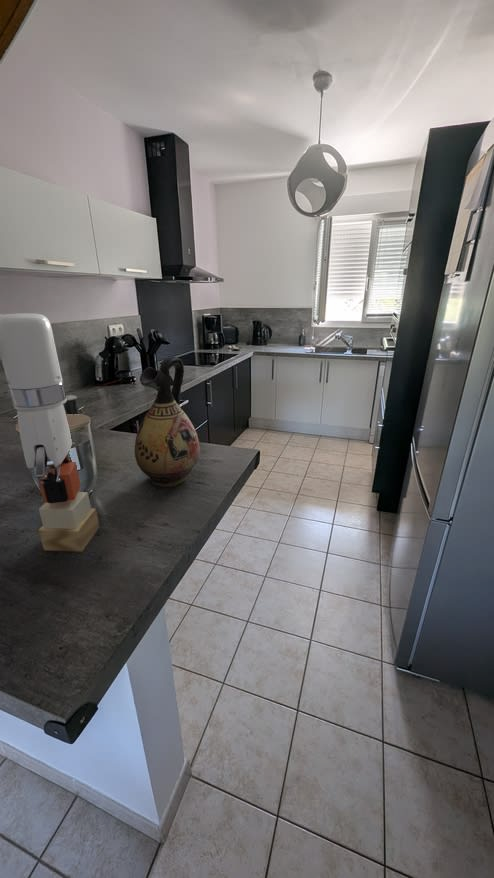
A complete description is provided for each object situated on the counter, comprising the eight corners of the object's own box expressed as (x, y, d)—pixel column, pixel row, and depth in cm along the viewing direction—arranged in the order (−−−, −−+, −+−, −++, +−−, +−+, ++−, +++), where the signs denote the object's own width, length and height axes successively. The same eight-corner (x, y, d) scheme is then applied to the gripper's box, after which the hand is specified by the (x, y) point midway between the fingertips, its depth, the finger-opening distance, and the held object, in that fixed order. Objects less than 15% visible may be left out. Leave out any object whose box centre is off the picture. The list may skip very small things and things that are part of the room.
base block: (43, 550, 65) (38, 530, 63) (64, 526, 71) (60, 507, 70) (82, 551, 64) (77, 531, 63) (99, 527, 71) (95, 508, 69)
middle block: (43, 528, 63) (38, 509, 62) (61, 509, 69) (57, 491, 67) (76, 529, 63) (71, 510, 62) (91, 510, 69) (87, 492, 67)
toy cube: (43, 503, 61) (37, 477, 59) (52, 488, 66) (46, 464, 64) (74, 499, 62) (69, 474, 60) (81, 485, 67) (75, 461, 65)
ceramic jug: (174, 501, 80) (161, 367, 68) (125, 484, 87) (106, 360, 75) (216, 470, 93) (212, 354, 82) (171, 457, 100) (161, 350, 89)
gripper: (32, 384, 64) (53, 473, 71) (-11, 413, 49) (22, 523, 56) (76, 381, 65) (93, 469, 72) (48, 409, 50) (73, 517, 57)
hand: (62, 492), depth 64 cm, fingers closed on toy cube, 5 cm apart
